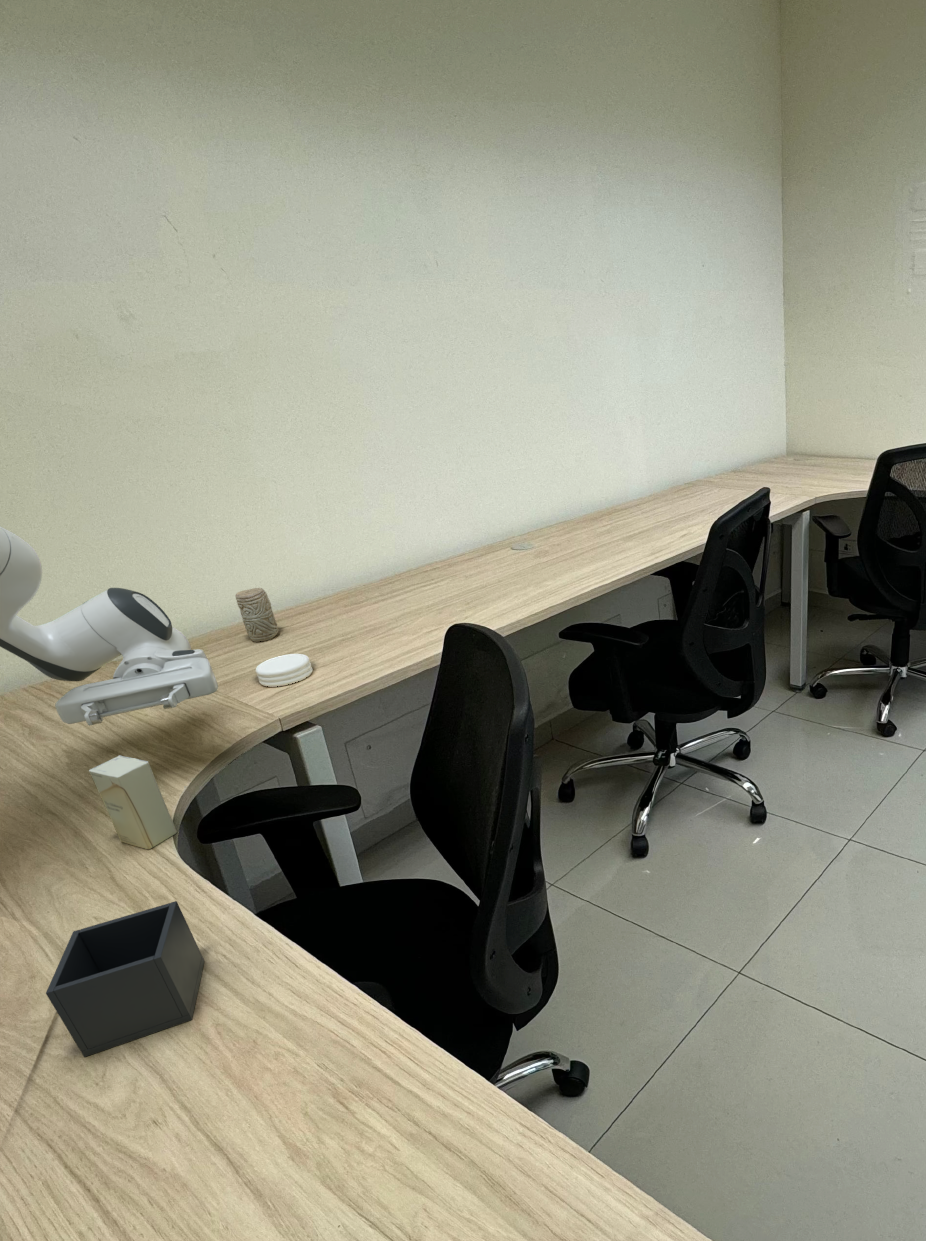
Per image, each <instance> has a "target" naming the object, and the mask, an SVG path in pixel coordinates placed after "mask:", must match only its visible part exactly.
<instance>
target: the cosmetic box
mask: <svg viewBox="0 0 926 1241" xmlns="http://www.w3.org/2000/svg"><path fill="white" fill-rule="evenodd" d="M88 772H89V774H90V776H91V778H92V780H93V782H94V785H95V788H96V789H97V792H98V794H99V796H100V798H101V800H102V802H103V805H104V808H105V809H106V812H107V814H108V816H109V818H110V820H111V822H112V825H113V827H114V829H115V832H116V834H117V836H118V838H119V841H120V842H121V843H124V844H128V845H131V846H134V847H137V848H142V849H144V850H151V849H153V848H154V847H156V846H158V845H160V844H161V843H162V842H164V841H166V840H168V839H169V838H171V837H172V836H174V835H176V834H177V833H178V831H177V828H176V827H175V823H174V822H173V819H172V816H171V813H170V812H169V809H168V807H167V803H166V801H165V799H164V797H163V794H162V792H161V790H160V787H159V785H158V782H157V780H156V777H155V775H154V772H153V769H152V768H151V764H150V763H149V761H148V760H143V759H140V758H139V759H138V758H134V757H130V756H125V755H117V756H116V757H113V758H111V759H109V760H107V761H105V762H102V763H101V764H98V765H96V766H94V767H93V768H90V769H89V770H88Z"/></svg>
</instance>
